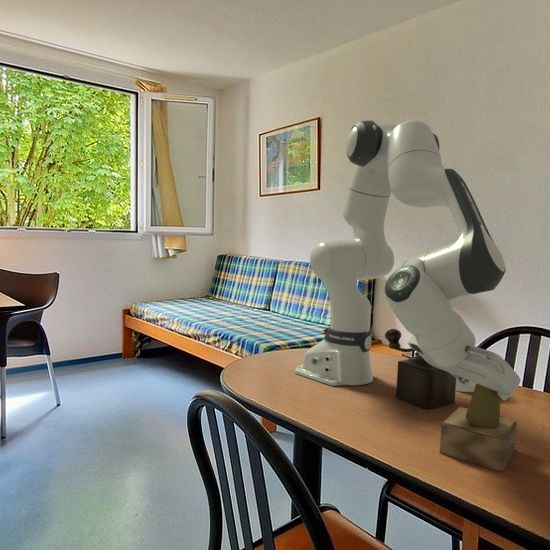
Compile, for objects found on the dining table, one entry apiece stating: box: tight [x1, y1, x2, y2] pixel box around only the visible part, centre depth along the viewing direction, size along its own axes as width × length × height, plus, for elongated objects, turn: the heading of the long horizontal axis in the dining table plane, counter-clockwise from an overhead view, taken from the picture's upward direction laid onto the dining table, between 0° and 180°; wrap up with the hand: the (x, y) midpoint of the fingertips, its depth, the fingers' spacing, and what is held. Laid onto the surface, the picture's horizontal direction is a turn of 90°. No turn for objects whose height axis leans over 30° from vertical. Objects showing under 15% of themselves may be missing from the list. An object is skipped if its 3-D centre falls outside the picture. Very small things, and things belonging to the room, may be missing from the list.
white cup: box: [455, 379, 476, 393], centre depth 128 cm, size 8×8×10 cm
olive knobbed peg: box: [465, 383, 501, 429], centre depth 89 cm, size 6×6×11 cm
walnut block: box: [439, 406, 518, 472], centre depth 91 cm, size 11×11×6 cm
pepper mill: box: [384, 328, 456, 410], centre depth 117 cm, size 16×11×18 cm
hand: (484, 388), depth 90 cm, fingers open, 8 cm apart
